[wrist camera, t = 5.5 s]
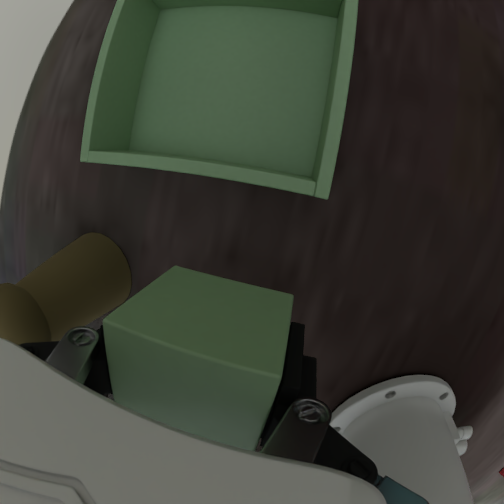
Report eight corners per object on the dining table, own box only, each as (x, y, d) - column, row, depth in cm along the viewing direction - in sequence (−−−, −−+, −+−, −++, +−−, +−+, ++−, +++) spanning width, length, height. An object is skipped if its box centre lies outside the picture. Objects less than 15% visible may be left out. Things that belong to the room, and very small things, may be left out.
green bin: (347, 17, 12) (359, -21, 7) (319, 189, 15) (328, 200, 11) (158, 7, 13) (126, -22, 9) (124, 158, 16) (79, 161, 12)
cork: (72, 223, 18) (-46, 274, 8) (135, 245, 18) (9, 325, 8) (72, 291, 20) (-20, 359, 10) (129, 318, 20) (40, 413, 10)
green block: (294, 293, 11) (282, 376, 6) (268, 386, 12) (247, 471, 8) (174, 264, 12) (101, 318, 7) (169, 357, 13) (118, 425, 8)
